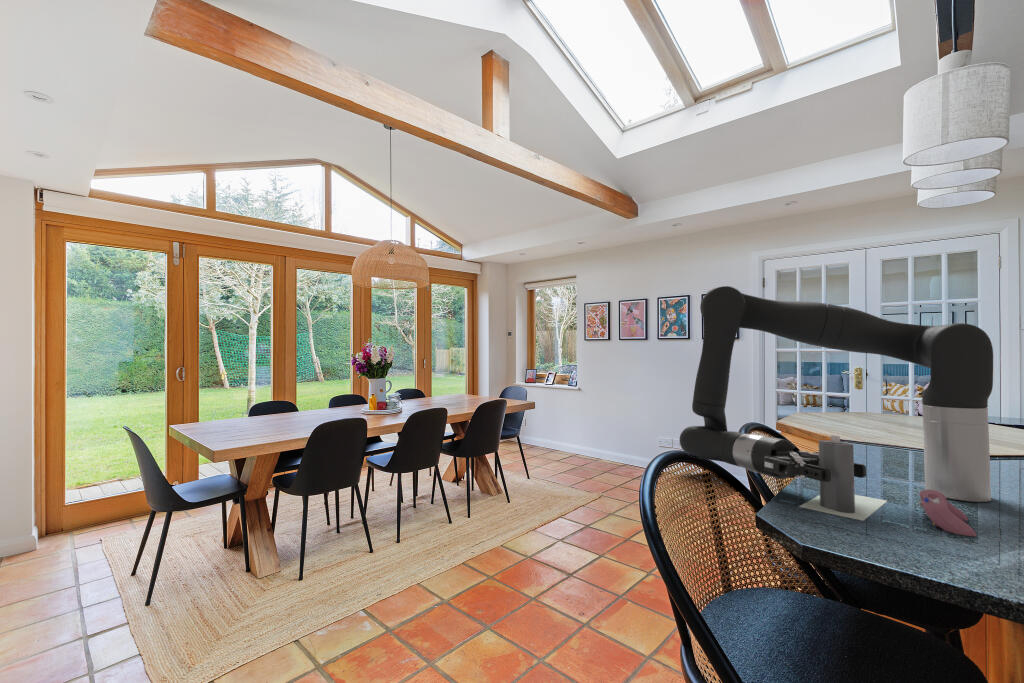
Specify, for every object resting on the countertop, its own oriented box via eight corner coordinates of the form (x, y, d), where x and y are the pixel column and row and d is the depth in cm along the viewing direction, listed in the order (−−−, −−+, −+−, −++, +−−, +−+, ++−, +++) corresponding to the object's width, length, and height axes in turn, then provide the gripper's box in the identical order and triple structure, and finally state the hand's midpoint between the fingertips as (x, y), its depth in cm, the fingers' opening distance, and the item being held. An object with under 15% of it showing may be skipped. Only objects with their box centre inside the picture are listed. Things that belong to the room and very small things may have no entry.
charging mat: (828, 495, 89) (828, 489, 89) (887, 506, 82) (887, 500, 82) (799, 512, 79) (798, 506, 79) (863, 526, 72) (863, 520, 72)
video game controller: (936, 530, 75) (909, 488, 77) (970, 523, 73) (942, 479, 75) (942, 549, 67) (912, 501, 70) (981, 542, 65) (949, 493, 67)
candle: (815, 504, 80) (814, 433, 80) (828, 502, 81) (826, 432, 81) (846, 514, 75) (844, 438, 75) (859, 511, 76) (857, 437, 77)
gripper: (736, 437, 89) (816, 453, 74) (789, 434, 94) (875, 448, 79) (736, 476, 89) (817, 500, 74) (790, 471, 94) (876, 492, 79)
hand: (847, 473), depth 76 cm, fingers open, 8 cm apart
